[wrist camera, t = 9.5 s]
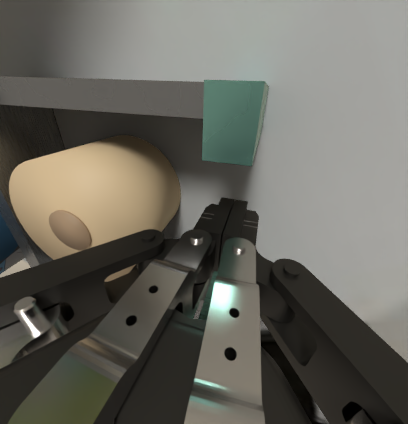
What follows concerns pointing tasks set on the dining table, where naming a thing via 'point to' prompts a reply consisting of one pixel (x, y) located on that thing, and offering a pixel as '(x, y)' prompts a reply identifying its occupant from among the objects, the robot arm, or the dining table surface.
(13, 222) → the holder
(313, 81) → the dining table surface
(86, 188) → the beige round fruit
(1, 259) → the soda can
